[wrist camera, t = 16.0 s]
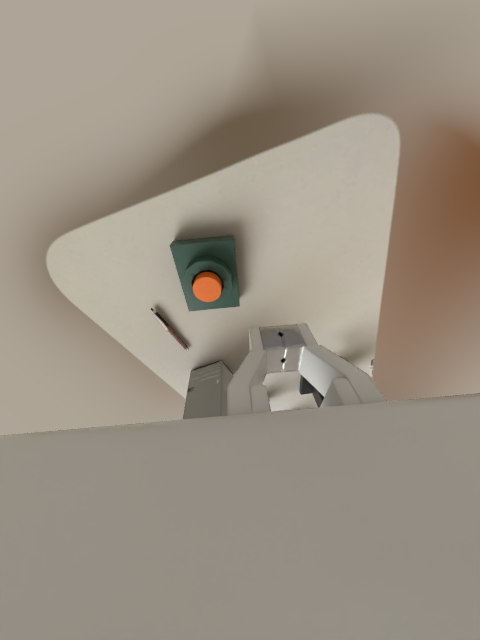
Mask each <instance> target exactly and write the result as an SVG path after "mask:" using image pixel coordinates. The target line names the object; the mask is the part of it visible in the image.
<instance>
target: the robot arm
mask: <svg viewBox="0 0 480 640" xmlns="http://www.w3.org/2000/svg"><path fill="white" fill-rule="evenodd" d="M249 345H250V351H249V353H248V354H247V356H246V358H245V359H244V361H243V362H242V364H241V365H240V367H239V369H238V370H237V372H236V373H235V375H234V376H233V378H232V380H231V381H230V383H229V384H228V386H227V416H218V417H206V418H195V419H184V420H172V421H162V422H150V423H138V424H127V425H115V426H105V427H92V428H81V429H70V430H58V431H47V432H36V433H24V434H12V435H2V436H0V640H480V393H477V394H466V395H455V396H443V397H432V398H421V399H409V400H399V401H387V400H386V399H385V398H384V396H383V395H382V393H381V392H380V390H379V389H378V388H377V386H376V385H375V383H374V382H373V380H372V379H371V378H370V376H369V375H368V374H367V373H365V372H364V371H362V370H360V369H359V368H357V367H356V366H354V365H352V364H351V363H349V362H348V361H346V360H344V359H343V358H341V357H339V356H338V355H336V354H335V353H333V352H331V351H330V350H328V349H327V348H325V347H323V346H322V345H318V344H317V342H316V340H315V338H314V337H313V335H312V333H311V331H310V329H309V328H308V326H307V324H306V323H302V324H294V325H283V326H270V327H259V328H258V327H257V328H249ZM288 371H298V372H299V373H300V374H301V375H302V376H303V377H304V378H305V379H306V380H307V381H308V382H309V383H310V384H312V385H313V386H314V387H315V388H316V389H317V390H318V391H319V392H320V393H321V394H322V395H323V396H324V399H323V402H322V404H321V406H320V407H319V408H308V409H296V410H285V411H274V412H271V409H270V404H269V399H268V394H267V389H266V386H264V385H263V384H262V383H263V381H264V378H265V376H266V374H267V373H276V372H288Z"/></svg>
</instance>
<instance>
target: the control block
mask: <svg viewBox="0 0 480 640" xmlns="http://www.w3.org/2000/svg"><path fill="white" fill-rule="evenodd" d="M170 247H171V251H172V254H173V258H174V261H175V265H176V268H177V271H178V275H179V278H180V282H181V285H182V289H183V292H184V295H185V299H186V302H187V306H188V309H189V311H196V310H207V309H217V308H227V307H237V306H240V305H239V293H238V282H237V270H236V258H235V246H234V237H233V235H231V236H220V237H209V238H198V239H187V240H176V241H173V242H172V243H171V245H170ZM207 271H208V272H213V273H215V274H216V275H217V276H218V277H219V278H220V280H221V283H222V288H221V295H220V296H219V298H218V299H216V300H215V301H212V302H204V301H201V300H199V299H198V298H197V297H196V296H195V294H194V292H193V284H194V281H195V278H196V277H197V275H198V274H200V273H202V272H207Z"/></svg>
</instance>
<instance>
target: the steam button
mask: <svg viewBox="0 0 480 640" xmlns="http://www.w3.org/2000/svg"><path fill="white" fill-rule="evenodd" d="M221 288H222V283H221V280H220V278H219V277H218V276H217V275H216V274H215V273H213V272H208V271H207V272H202V273H200V274H198V275H197V277H196V278H195V281H194V284H193V292H194V294H195V296H196V297H197V298H198V299H199V300H201V301H204V302H212V301H215V300H216V299H218V298H219V296H220V295H221Z"/></svg>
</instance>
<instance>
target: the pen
mask: <svg viewBox="0 0 480 640" xmlns="http://www.w3.org/2000/svg"><path fill="white" fill-rule="evenodd" d="M151 310H152V313H153V315H154V316H155V318H156V319H157V320H158V321H159V322H160V323H161V324H162V325H163V327H164V328H165V329H167V330H168V331H169V332H170V333H171V334H172V335H173V337H174V338H175V339H176V340H177V341H178V342H179V343H180V344H181V345H182V346H183V347H184V348H185V349H186V350H187V351H189V349H188V347H187V345H186V344H185V343H184V342H183V341H182V340H181V338H180V337H179V336H178V335H177V334H176V333H175V331H174V330H173V329H172V328H171V327H170V326H169V324H168V323H167V322H166V321H165V320H164V319H163V318H162V317H161V316H160V314H159V313H158V312H157V311H156V310H154V309H152V308H151Z"/></svg>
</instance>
